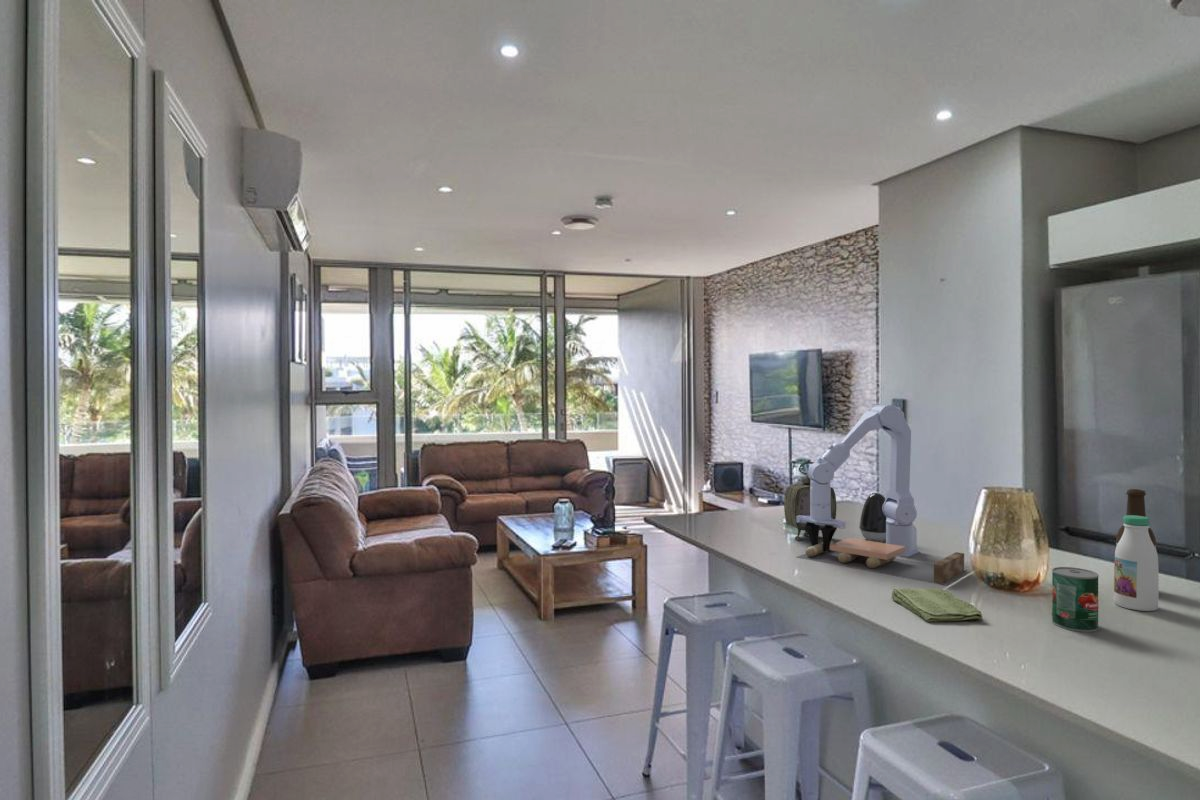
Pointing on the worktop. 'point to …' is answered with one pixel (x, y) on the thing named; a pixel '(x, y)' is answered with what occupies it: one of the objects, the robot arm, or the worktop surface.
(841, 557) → the roller rear
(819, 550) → the roller
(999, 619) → the worktop surface
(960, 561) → the bar
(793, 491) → the tabletop clock
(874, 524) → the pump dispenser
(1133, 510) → the beer bottle
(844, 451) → the robot arm
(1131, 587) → the milk bottle
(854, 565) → the mat
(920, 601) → the washcloth
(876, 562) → the roller front
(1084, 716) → the worktop surface
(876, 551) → the slab
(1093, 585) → the canned tomato
